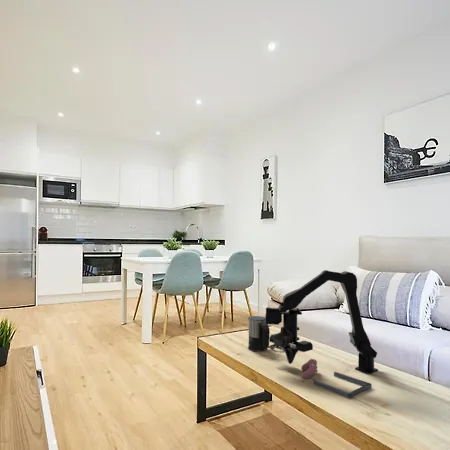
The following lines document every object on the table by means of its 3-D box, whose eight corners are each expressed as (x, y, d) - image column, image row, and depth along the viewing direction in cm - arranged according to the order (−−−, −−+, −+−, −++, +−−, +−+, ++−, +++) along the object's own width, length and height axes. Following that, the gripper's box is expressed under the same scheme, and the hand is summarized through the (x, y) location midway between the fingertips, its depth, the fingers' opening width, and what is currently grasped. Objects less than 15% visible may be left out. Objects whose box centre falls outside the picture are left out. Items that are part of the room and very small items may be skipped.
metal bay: (335, 375, 134) (335, 371, 134) (371, 388, 122) (371, 383, 123) (313, 384, 125) (313, 380, 125) (350, 398, 114) (350, 393, 114)
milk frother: (243, 348, 168) (243, 317, 169) (265, 342, 178) (265, 313, 179) (266, 355, 157) (266, 322, 158) (287, 348, 168) (287, 317, 169)
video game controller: (312, 384, 129) (320, 367, 129) (300, 377, 130) (309, 361, 130) (310, 374, 139) (318, 359, 139) (300, 368, 140) (308, 353, 140)
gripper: (260, 323, 146) (260, 361, 145) (295, 332, 131) (295, 374, 130) (278, 319, 153) (278, 356, 152) (313, 328, 138) (313, 368, 137)
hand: (290, 363), depth 143 cm, fingers closed
